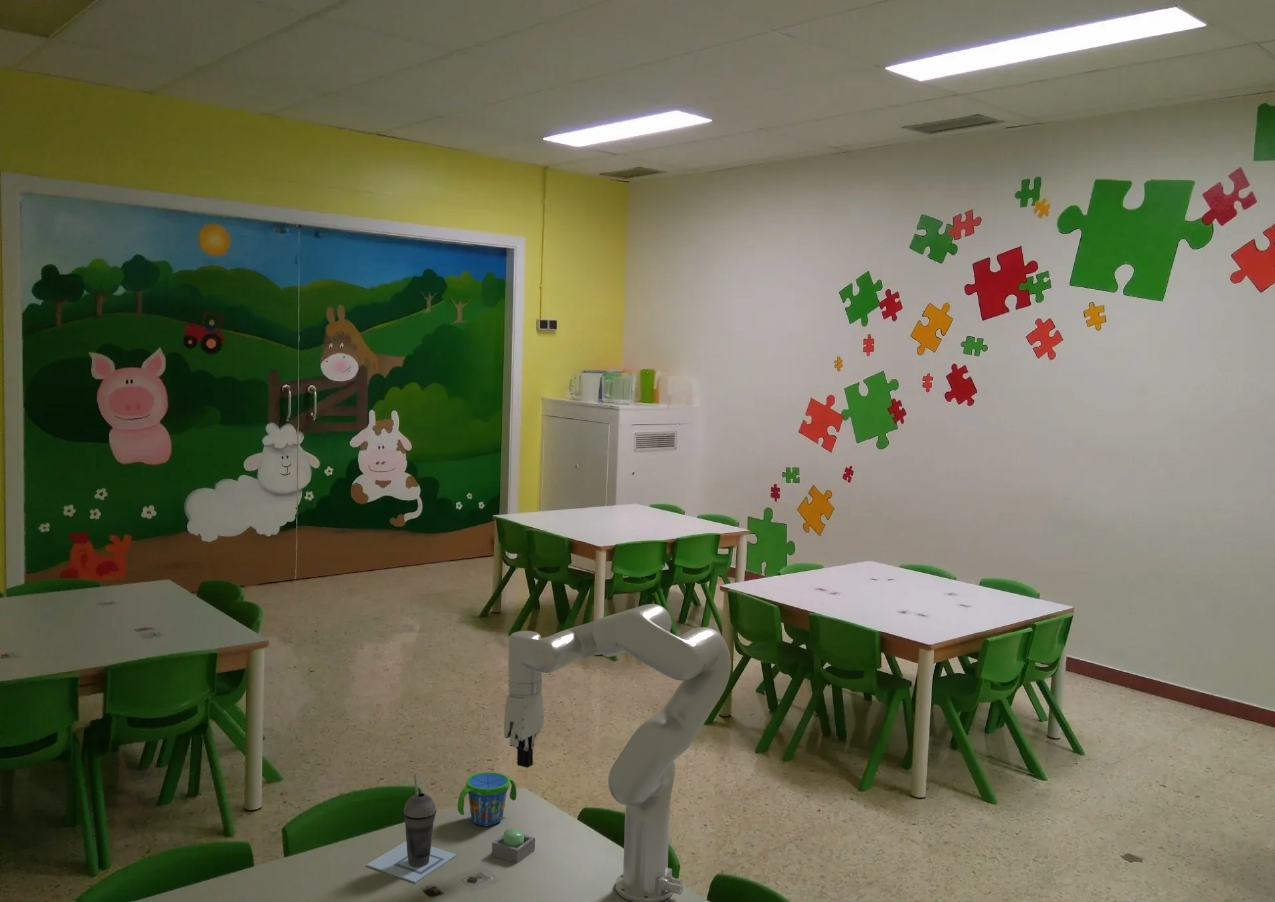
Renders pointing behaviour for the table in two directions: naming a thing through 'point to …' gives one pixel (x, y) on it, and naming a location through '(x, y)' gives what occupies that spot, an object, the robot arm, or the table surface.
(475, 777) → the snack cup
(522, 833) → the button
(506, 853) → the button housing
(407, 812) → the beverage cup
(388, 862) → the paper
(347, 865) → the table surface
